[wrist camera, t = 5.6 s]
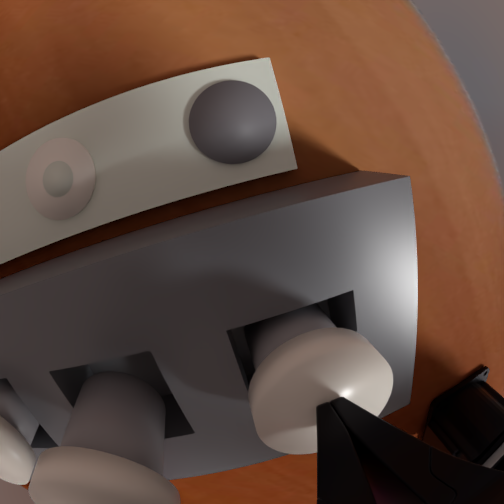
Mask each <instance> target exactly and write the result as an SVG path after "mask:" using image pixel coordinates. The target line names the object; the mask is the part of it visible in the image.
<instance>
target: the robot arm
mask: <svg viewBox="0 0 504 504" xmlns="http://www.w3.org/2000/svg"><path fill="white" fill-rule="evenodd" d="M488 373H489V368H488V367H487V366H485V367H483V368H482V369H480V370H479V371H478V372H476V373H475V374H473V375H472V376H470V377H469V378H468V379H466V380H465V381H463V382H462V383H460V384H459V385H457V386H456V387H454V388H453V389H451V390H449V391H448V392H446V393H445V394H443V395H441V396H440V397H438V398H436V399H435V400H434V401H433V402H432V404H431V406H430V411H429V415H428V419H427V423H426V427H425V431H424V435H423V439H422V441H421V440H419V439H418V438H416V437H414V436H412V435H410V434H408V433H406V432H404V431H403V430H401V429H399V428H397V427H395V426H393V425H392V424H390V423H388V422H386V421H384V420H383V419H381V418H379V417H377V416H375V415H374V414H372V413H370V412H368V411H367V410H365V409H363V408H362V407H360V406H358V405H356V404H355V403H353V402H351V401H350V400H348V399H346V398H345V397H338V398H336V399H333V400H331V401H330V403H329V402H325V403H323V404H320V405H318V406H317V407H316V423H317V499H318V500H317V504H504V398H503V397H502V396H501V395H500V394H499V393H498V392H496V391H495V390H494V389H493V388H492V387H491V386H490V385H489V384H487V383H486V380H487V377H488Z"/></svg>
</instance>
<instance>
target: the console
mask: <svg viewBox="0 0 504 504" xmlns="http://www.w3.org/2000/svg"><path fill="white" fill-rule="evenodd" d="M314 303H317V304H318V305H319V307H320V308H321V309H322V310H323V312H324V313H325V314H326V315H327V316H328V318H329V319H330V320H331V321H332V322H333V324H334V325H335V326H336V327H337V328H345V329H350V330H353V331H355V332H357V333H359V334H361V335H363V336H364V337H365V338H366V339H367V340H368V341H369V342H370V343H371V344H372V345H373V346H374V348H375V349H376V350H377V351H378V352H379V353H380V354H381V355H382V356H383V357H384V358H385V360H386V361H387V362H388V364H389V365H390V367H391V369H392V373H393V387H392V391H391V395H390V397H389V399H388V402H387V403H386V405H385V407H384V409H383V410H382V411H381V413H380V414H379V415H378V417H379V418H382V417H384V416H386V415H388V414H390V413H392V412H394V411H396V410H398V409H400V408H402V407H404V406H406V405H408V404H410V398H411V390H412V382H413V373H414V362H415V350H416V334H417V307H418V273H417V246H416V230H415V217H414V207H413V197H412V189H411V181H410V176H405V175H397V174H389V173H380V172H371V171H356V172H352V173H347V174H343V175H338V176H334V177H330V178H325V179H321V180H317V181H313V182H308V183H304V184H300V185H296V186H292V187H288V188H284V189H280V190H276V191H272V192H268V193H264V194H261V195H257V196H253V197H249V198H245V199H242V200H238V201H234V202H231V203H227V204H223V205H220V206H216V207H213V208H209V209H206V210H202V211H199V212H195V213H192V214H188V215H185V216H182V217H178V218H175V219H172V220H168V221H165V222H162V223H159V224H155V225H152V226H149V227H146V228H143V229H139V230H136V231H133V232H130V233H127V234H124V235H121V236H118V237H115V238H112V239H109V240H106V241H103V242H100V243H97V244H94V245H91V246H88V247H85V248H82V249H79V250H76V251H74V252H71V253H68V254H65V255H62V256H60V257H57V258H54V259H51V260H49V261H46V262H43V263H41V264H38V265H35V266H33V267H30V268H27V269H25V270H22V271H19V272H17V273H14V274H12V275H9V276H7V277H4V278H2V279H0V379H3V378H7V380H8V381H9V383H10V384H11V386H12V387H13V389H14V390H15V391H16V393H17V394H18V396H19V397H20V399H21V400H22V401H23V403H24V404H25V405H26V407H27V408H28V409H29V411H30V412H31V413H32V415H33V416H34V417H35V419H36V420H37V421H38V422H39V426H38V429H37V431H36V433H35V436H34V438H33V441H32V443H31V445H30V446H31V447H32V449H33V451H34V453H35V456H36V462H35V465H34V468H33V471H32V474H31V477H30V480H31V478H32V475H33V472H34V469H35V467H36V464H37V461H38V458H39V456H40V454H41V453H42V452H43V451H45V450H47V449H49V448H53V447H60V445H61V442H62V439H63V436H64V433H65V430H66V428H67V425H68V422H69V419H70V416H71V414H72V411H73V408H74V406H75V403H76V401H77V398H78V395H79V393H80V390H81V388H82V385H83V383H84V382H85V381H86V380H87V379H88V378H89V377H90V376H92V375H94V374H97V373H100V372H111V371H113V372H121V373H126V374H129V375H132V376H135V377H137V378H139V379H141V380H143V381H145V382H146V383H148V384H149V385H150V386H152V387H153V388H154V389H155V390H156V391H157V392H158V393H159V394H160V396H161V397H162V399H163V401H164V404H165V408H166V415H165V435H164V466H163V477H164V478H166V479H167V480H172V479H180V478H187V477H193V476H200V475H205V474H211V473H216V472H221V471H226V470H231V469H235V468H240V467H244V466H248V465H252V464H256V463H260V462H264V461H267V460H271V459H274V458H278V457H281V456H284V455H288V454H287V453H283V452H279V451H276V450H274V449H272V448H270V447H268V446H267V445H266V444H264V443H263V441H262V440H261V439H260V438H259V436H258V434H257V431H256V428H255V424H254V420H253V416H252V412H251V408H250V405H249V400H248V390H249V385H250V382H251V379H252V377H253V375H254V373H255V368H254V364H253V361H252V358H251V355H250V351H249V348H248V345H247V341H246V338H245V325H248V324H251V323H254V322H258V321H261V320H264V319H267V318H271V317H274V316H277V315H280V314H283V313H287V312H290V311H293V310H296V309H299V308H302V307H305V306H308V305H311V304H314Z"/></svg>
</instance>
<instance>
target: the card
mask: <svg viewBox="0 0 504 504" xmlns="http://www.w3.org/2000/svg"><path fill="white" fill-rule="evenodd" d="M294 169H298V168H297V163H296V159H295V155H294V150H293V146H292V142H291V138H290V133H289V129H288V125H287V121H286V117H285V113H284V109H283V105H282V102H281V98H280V94H279V90H278V86H277V83H276V79H275V75H274V72H273V68H272V65H271V61H270V58H262V59H255V60H249V61H243V62H238V63H232V64H227V65H222V66H217V67H213V68H208V69H204V70H200V71H195V72H191V73H187V74H183V75H180V76H176V77H172V78H169V79H165V80H162V81H158V82H155V83H152V84H149V85H145V86H142V87H139V88H136V89H133V90H130V91H127V92H125V93H122V94H119V95H116V96H114V97H111V98H108V99H106V100H103V101H101V102H98V103H96V104H93V105H91V106H88V107H86V108H83V109H81V110H79V111H76V112H74V113H72V114H70V115H68V116H65V117H63V118H61V119H59V120H57V121H55V122H53V123H51V124H49V125H47V126H45V127H43V128H41V129H39V130H37V131H35V132H33V133H31V134H29V135H27V136H25V137H24V138H22V139H20V140H18V141H16V142H15V143H13V144H11V145H9V146H8V147H6V148H4V149H3V150H1V151H0V264H2V263H4V262H7V261H9V260H12V259H14V258H16V257H19V256H21V255H24V254H26V253H28V252H31V251H33V250H36V249H38V248H41V247H43V246H46V245H49V244H51V243H54V242H56V241H59V240H62V239H64V238H67V237H70V236H72V235H75V234H78V233H80V232H83V231H86V230H89V229H92V228H94V227H97V226H100V225H103V224H106V223H109V222H112V221H115V220H117V219H120V218H123V217H126V216H129V215H132V214H136V213H139V212H142V211H145V210H148V209H151V208H154V207H157V206H161V205H164V204H167V203H170V202H174V201H177V200H180V199H184V198H187V197H191V196H194V195H198V194H201V193H205V192H208V191H212V190H215V189H219V188H223V187H226V186H230V185H234V184H237V183H241V182H245V181H249V180H253V179H257V178H261V177H265V176H269V175H273V174H277V173H281V172H285V171H290V170H294Z"/></svg>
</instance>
